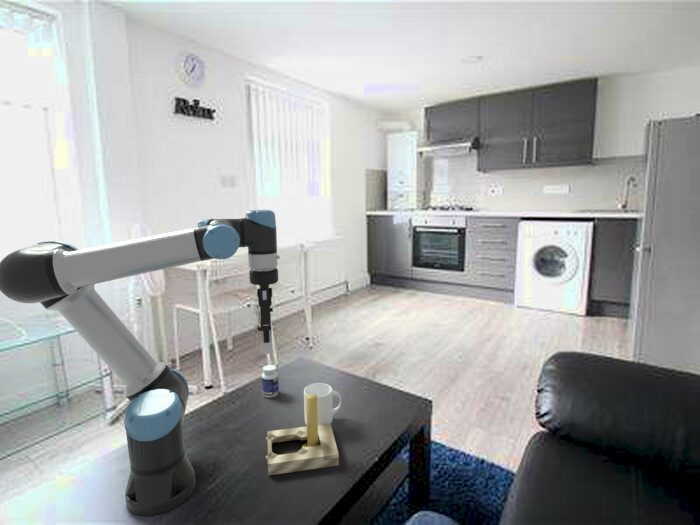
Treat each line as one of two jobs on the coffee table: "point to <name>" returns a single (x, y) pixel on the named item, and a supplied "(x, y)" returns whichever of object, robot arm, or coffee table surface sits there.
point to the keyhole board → (302, 451)
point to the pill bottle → (270, 381)
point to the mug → (322, 402)
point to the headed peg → (312, 421)
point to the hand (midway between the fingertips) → (267, 343)
